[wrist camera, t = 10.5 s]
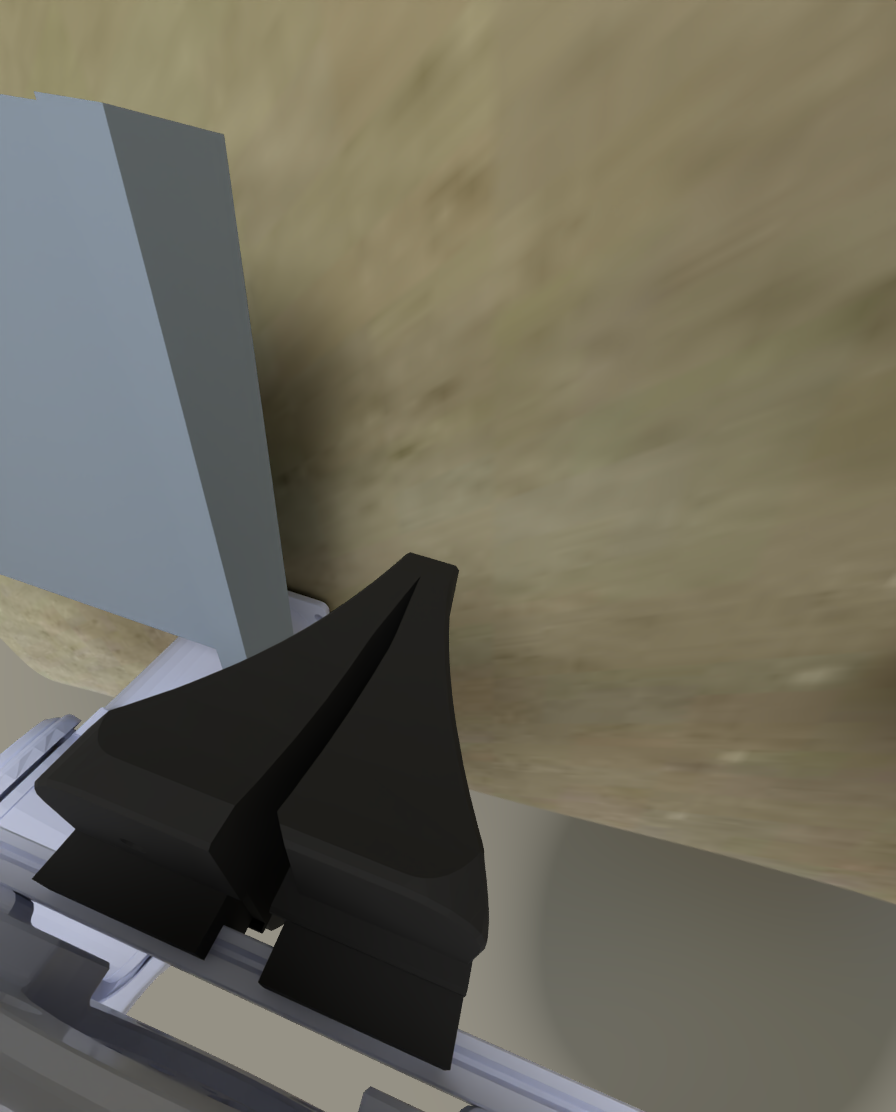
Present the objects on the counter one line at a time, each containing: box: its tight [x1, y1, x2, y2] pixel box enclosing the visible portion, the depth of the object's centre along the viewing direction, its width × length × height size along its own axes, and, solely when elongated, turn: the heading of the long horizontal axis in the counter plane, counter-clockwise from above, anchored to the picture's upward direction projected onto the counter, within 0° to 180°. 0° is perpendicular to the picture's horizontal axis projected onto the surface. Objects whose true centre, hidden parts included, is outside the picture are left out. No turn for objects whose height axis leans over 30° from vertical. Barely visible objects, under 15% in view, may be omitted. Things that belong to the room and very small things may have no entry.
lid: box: [0, 91, 294, 669], centre depth 13 cm, size 16×16×3 cm
